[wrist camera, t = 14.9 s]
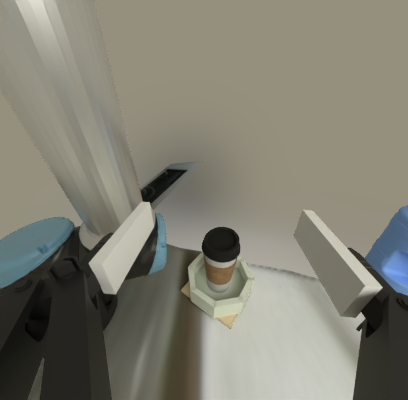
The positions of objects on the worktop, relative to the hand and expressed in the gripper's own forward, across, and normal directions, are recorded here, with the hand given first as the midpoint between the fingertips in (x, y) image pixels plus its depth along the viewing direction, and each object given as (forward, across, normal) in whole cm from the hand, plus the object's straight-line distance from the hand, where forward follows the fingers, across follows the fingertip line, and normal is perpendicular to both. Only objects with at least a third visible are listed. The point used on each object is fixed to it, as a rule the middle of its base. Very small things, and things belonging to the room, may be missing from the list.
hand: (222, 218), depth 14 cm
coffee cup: (+14, +1, -31) cm, 34 cm away
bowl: (+15, +1, -32) cm, 35 cm away
